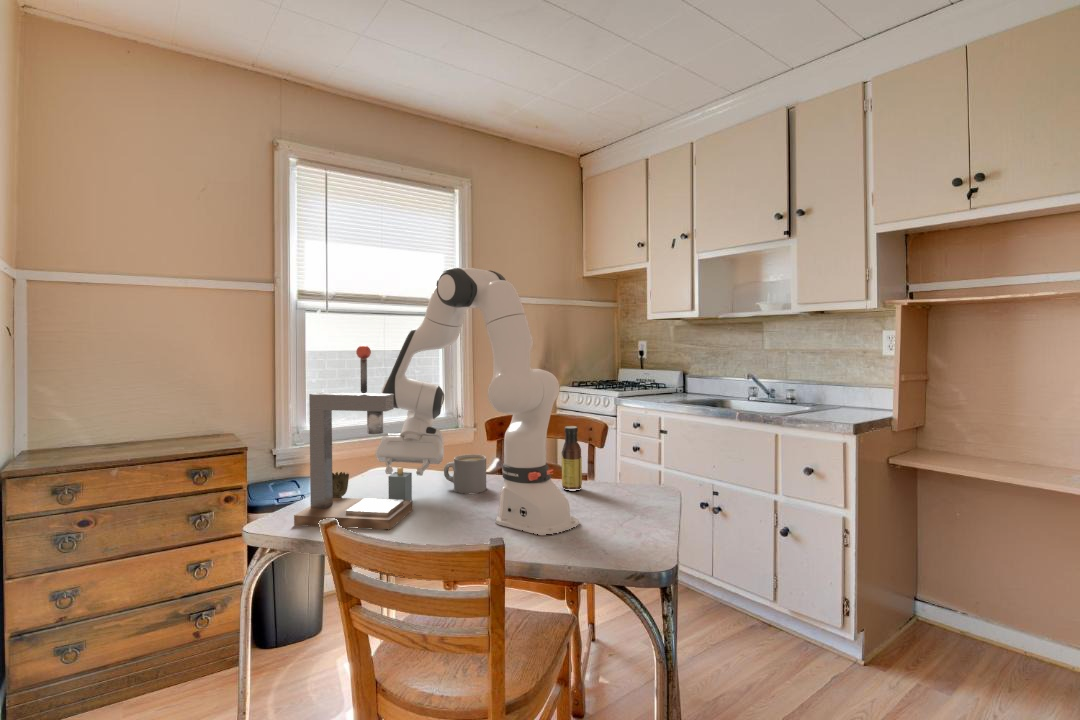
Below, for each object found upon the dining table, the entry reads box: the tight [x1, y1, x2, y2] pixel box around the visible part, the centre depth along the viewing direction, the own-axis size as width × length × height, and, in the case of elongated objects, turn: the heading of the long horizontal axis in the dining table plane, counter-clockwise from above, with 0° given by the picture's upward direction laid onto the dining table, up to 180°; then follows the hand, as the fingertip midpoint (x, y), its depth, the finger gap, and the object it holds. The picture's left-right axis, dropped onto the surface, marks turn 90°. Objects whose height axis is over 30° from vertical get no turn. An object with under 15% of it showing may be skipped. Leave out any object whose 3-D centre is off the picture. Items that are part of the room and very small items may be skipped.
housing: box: [387, 467, 413, 501], centre depth 160 cm, size 5×5×10 cm
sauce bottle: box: [561, 425, 583, 489], centre depth 174 cm, size 7×6×20 cm
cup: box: [332, 471, 350, 498], centre depth 160 cm, size 8×7×8 cm
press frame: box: [308, 344, 404, 516], centre depth 145 cm, size 22×11×43 cm, turn 83°
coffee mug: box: [443, 453, 487, 495], centre depth 174 cm, size 13×10×10 cm
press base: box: [293, 497, 413, 531], centre depth 146 cm, size 25×16×2 cm, turn 83°
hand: (403, 473), depth 163 cm, fingers open, 8 cm apart
